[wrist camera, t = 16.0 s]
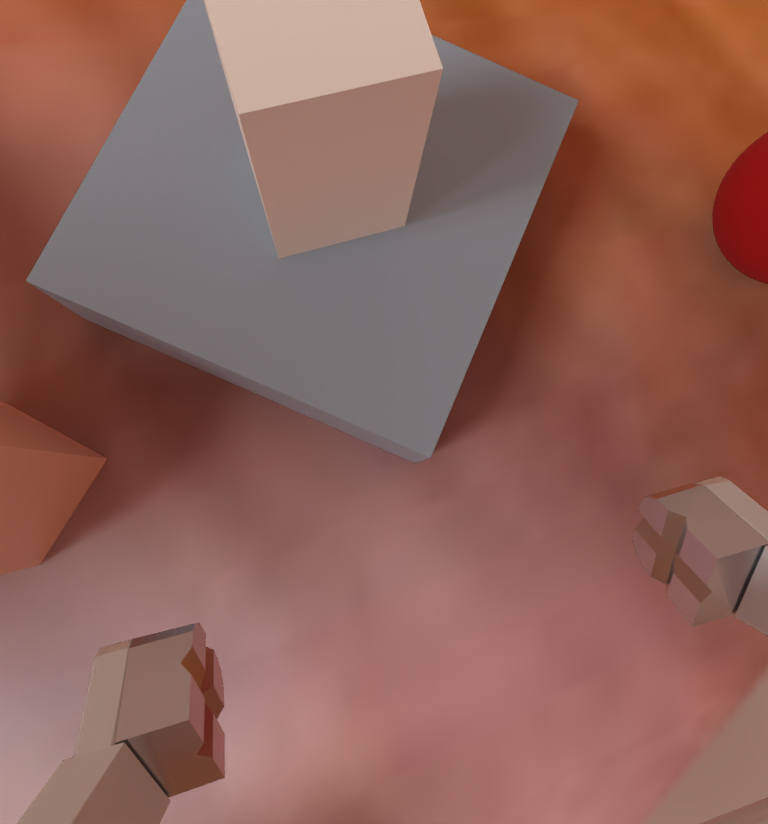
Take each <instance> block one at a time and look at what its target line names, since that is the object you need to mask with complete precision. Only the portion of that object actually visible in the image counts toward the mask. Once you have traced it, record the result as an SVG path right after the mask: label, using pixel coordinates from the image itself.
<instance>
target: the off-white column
mask: <svg viewBox="0 0 768 824" xmlns="http://www.w3.org/2000/svg"><path fill="white" fill-rule="evenodd" d="M204 3H205V7H206V10H207V14H208V17H209V21H210V24H211V28H212V31H213V35H214V38H215V42H216V45H217V49H218V52H219V56H220V59H221V63H222V66H223V70H224V73H225V77H226V80H227V84H228V87H229V91H230V95H231V98H232V102H233V105H234V109H235V112H236V116H237V119H238V123H239V126H240V130H241V133H242V137H243V140H244V144H245V147H246V150H247V154H248V157H249V160H250V164H251V167H252V170H253V174H254V177H255V180H256V184H257V187H258V190H259V194H260V197H261V201H262V204H263V207H264V211H265V214H266V217H267V221H268V224H269V227H270V231H271V234H272V237H273V241H274V244H275V247H276V251H277V254H278V257H279V259H280V258H284V257H287V256H291V255H295V254H299V253H303V252H307V251H311V250H314V249H318V248H322V247H326V246H330V245H334V244H338V243H342V242H345V241H349V240H353V239H357V238H361V237H365V236H369V235H372V234H376V233H380V232H384V231H388V230H392V229H396V228H400V227H403V226H405V223H406V219H407V215H408V211H409V207H410V203H411V199H412V194H413V190H414V186H415V182H416V178H417V174H418V170H419V166H420V162H421V157H422V153H423V149H424V145H425V141H426V137H427V133H428V129H429V125H430V121H431V116H432V112H433V108H434V104H435V100H436V96H437V92H438V88H439V84H440V79H441V75H442V71H443V67H442V64H441V61H440V58H439V55H438V52H437V49H436V46H435V44H434V41H433V38H432V35H431V32H430V29H429V26H428V23H427V21H426V18H425V15H424V12H423V9H422V6H421V3H420V0H204Z"/></svg>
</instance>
